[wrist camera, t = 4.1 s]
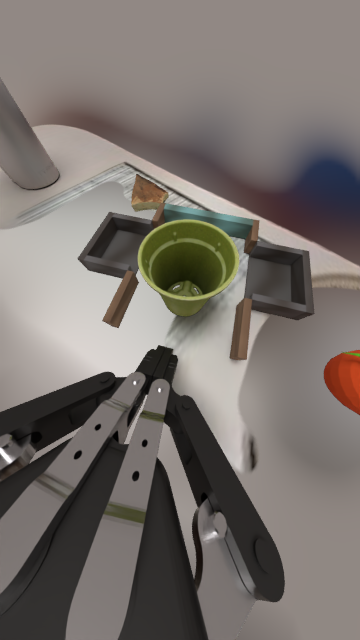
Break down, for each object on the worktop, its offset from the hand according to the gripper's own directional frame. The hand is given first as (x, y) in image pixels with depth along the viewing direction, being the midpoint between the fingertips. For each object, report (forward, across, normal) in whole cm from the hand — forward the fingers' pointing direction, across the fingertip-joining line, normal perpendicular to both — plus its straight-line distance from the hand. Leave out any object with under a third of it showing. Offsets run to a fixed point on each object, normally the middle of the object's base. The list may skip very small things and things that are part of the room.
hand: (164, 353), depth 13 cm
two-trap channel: (+13, 0, -7) cm, 15 cm away
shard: (+26, +15, -18) cm, 35 cm away
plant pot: (+10, 0, -3) cm, 10 cm away
